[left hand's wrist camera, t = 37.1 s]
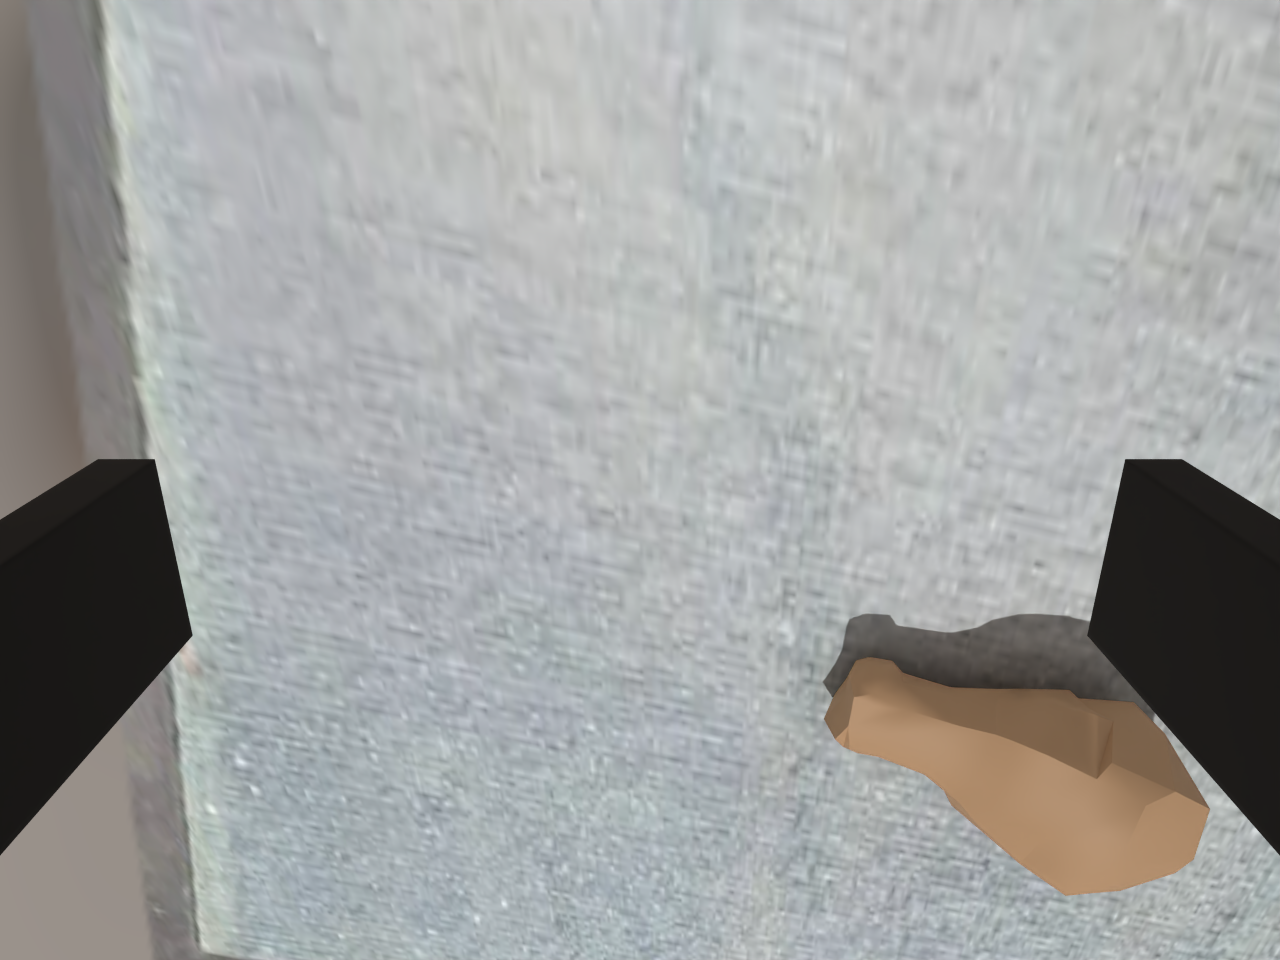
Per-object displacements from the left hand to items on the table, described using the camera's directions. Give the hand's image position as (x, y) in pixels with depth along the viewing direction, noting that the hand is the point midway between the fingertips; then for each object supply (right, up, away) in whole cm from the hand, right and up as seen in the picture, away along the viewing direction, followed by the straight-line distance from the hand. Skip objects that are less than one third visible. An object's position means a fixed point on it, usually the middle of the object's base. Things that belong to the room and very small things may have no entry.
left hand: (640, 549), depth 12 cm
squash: (+20, -13, +40) cm, 47 cm away
